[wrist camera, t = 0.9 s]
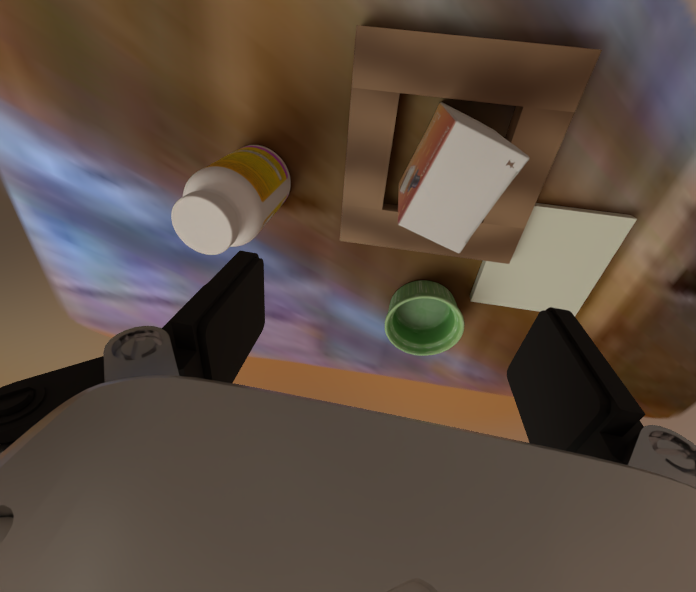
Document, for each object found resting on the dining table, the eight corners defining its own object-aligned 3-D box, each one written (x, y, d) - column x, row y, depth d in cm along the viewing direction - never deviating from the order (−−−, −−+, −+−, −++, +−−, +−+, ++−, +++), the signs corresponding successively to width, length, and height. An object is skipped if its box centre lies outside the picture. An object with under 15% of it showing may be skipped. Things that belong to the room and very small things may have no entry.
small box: (440, 100, 29) (457, 115, 20) (495, 129, 29) (533, 156, 21) (396, 184, 33) (395, 225, 25) (444, 207, 34) (459, 256, 25)
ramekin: (474, 293, 39) (481, 316, 36) (434, 341, 44) (437, 365, 41) (407, 263, 38) (408, 284, 35) (374, 316, 43) (372, 339, 40)
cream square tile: (505, 199, 32) (508, 202, 32) (631, 214, 32) (637, 218, 31) (469, 296, 40) (470, 301, 39) (571, 311, 39) (574, 316, 38)
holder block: (359, 27, 26) (356, 25, 25) (588, 50, 25) (601, 49, 24) (342, 233, 37) (339, 240, 35) (504, 255, 36) (509, 264, 34)
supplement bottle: (229, 136, 33) (149, 170, 22) (294, 150, 33) (244, 191, 22) (232, 201, 36) (165, 256, 26) (290, 214, 36) (246, 274, 26)
